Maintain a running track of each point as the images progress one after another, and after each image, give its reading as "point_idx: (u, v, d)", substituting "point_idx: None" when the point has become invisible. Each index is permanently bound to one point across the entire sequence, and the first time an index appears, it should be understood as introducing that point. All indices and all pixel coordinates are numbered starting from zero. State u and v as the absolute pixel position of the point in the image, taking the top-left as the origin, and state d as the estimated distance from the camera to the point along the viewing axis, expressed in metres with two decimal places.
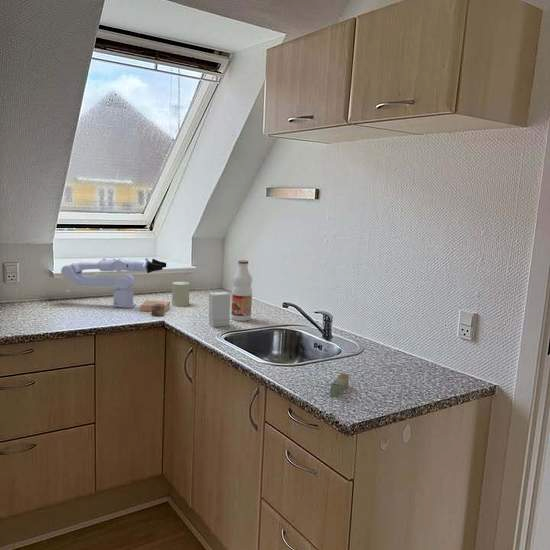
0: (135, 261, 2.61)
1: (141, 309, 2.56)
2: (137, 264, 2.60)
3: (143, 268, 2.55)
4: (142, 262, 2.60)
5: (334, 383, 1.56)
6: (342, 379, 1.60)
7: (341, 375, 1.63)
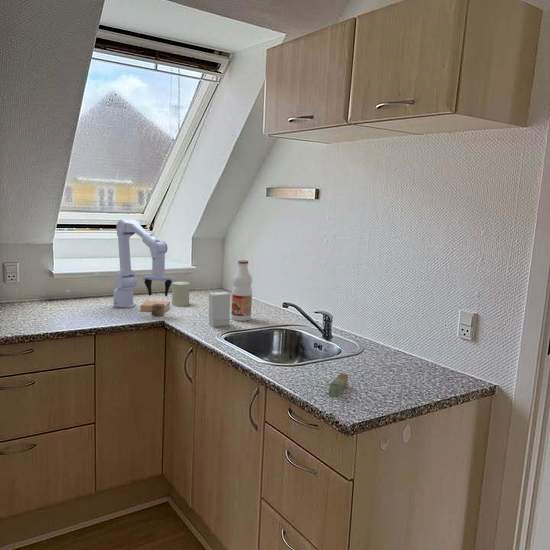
0: (158, 267, 2.44)
1: (141, 309, 2.56)
2: (152, 268, 2.46)
3: None
4: (153, 274, 2.45)
5: (333, 383, 1.56)
6: (341, 379, 1.60)
7: (340, 375, 1.63)
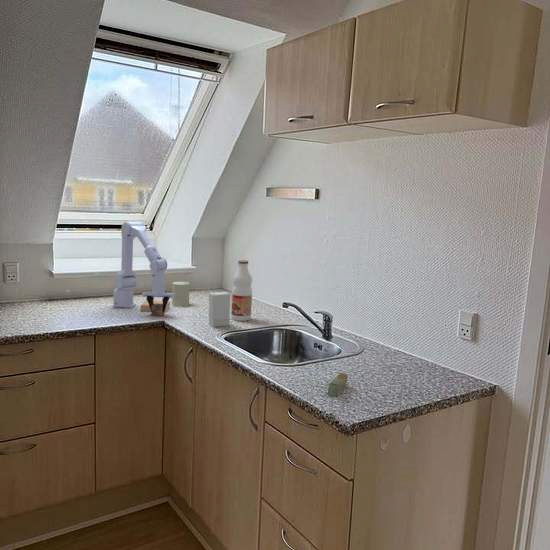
0: (158, 283, 2.45)
1: (141, 309, 2.56)
2: (152, 285, 2.47)
3: None
4: (152, 291, 2.46)
5: (332, 383, 1.56)
6: (340, 379, 1.60)
7: (340, 375, 1.64)
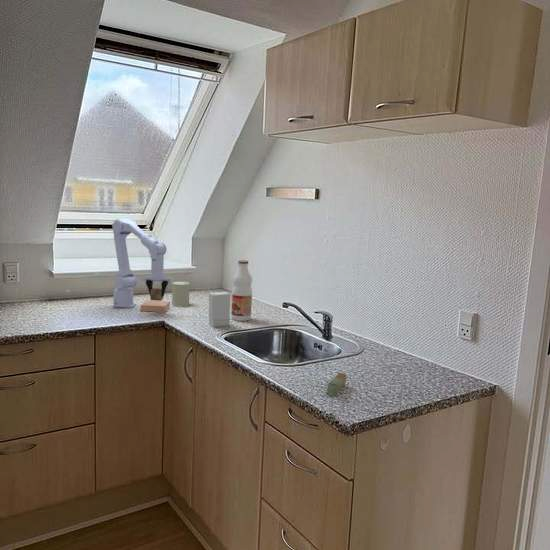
0: (158, 268, 2.48)
1: (141, 309, 2.56)
2: (151, 269, 2.50)
3: None
4: (152, 275, 2.50)
5: (331, 383, 1.56)
6: (339, 379, 1.60)
7: (338, 375, 1.64)
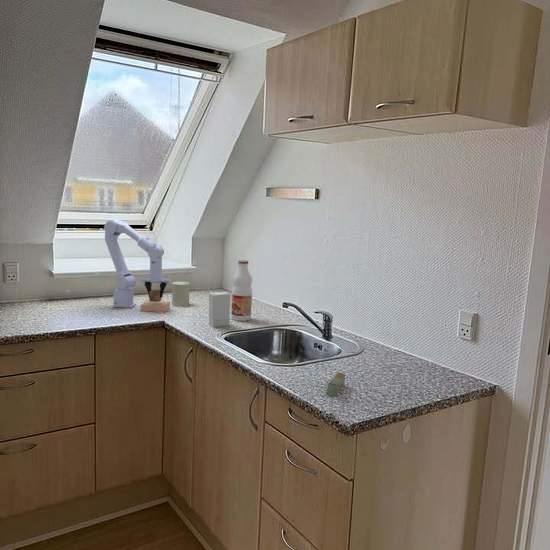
0: (158, 270, 2.57)
1: (141, 309, 2.56)
2: (150, 271, 2.58)
3: None
4: (150, 277, 2.57)
5: (331, 383, 1.56)
6: (339, 378, 1.60)
7: (337, 374, 1.64)
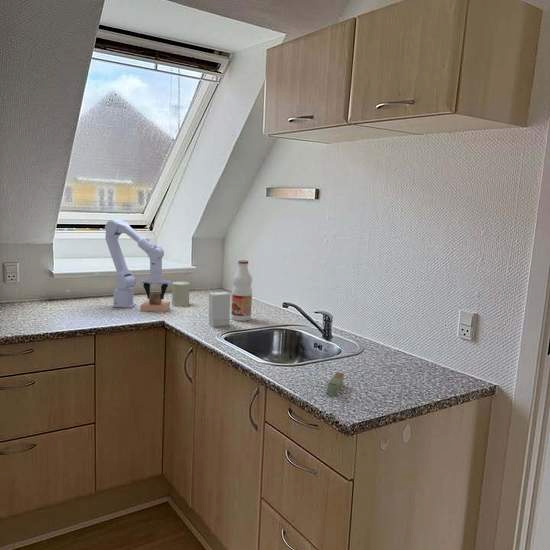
0: (158, 271, 2.57)
1: (141, 309, 2.56)
2: (150, 273, 2.58)
3: None
4: (150, 278, 2.57)
5: (331, 382, 1.56)
6: (338, 378, 1.60)
7: (336, 374, 1.64)
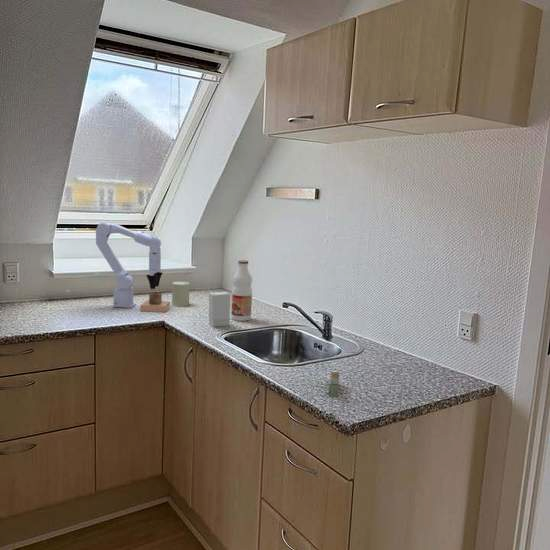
0: (159, 260, 2.63)
1: (141, 309, 2.56)
2: (155, 263, 2.62)
3: (150, 273, 2.58)
4: (157, 268, 2.63)
5: (332, 383, 1.56)
6: (337, 378, 1.60)
7: (333, 374, 1.64)
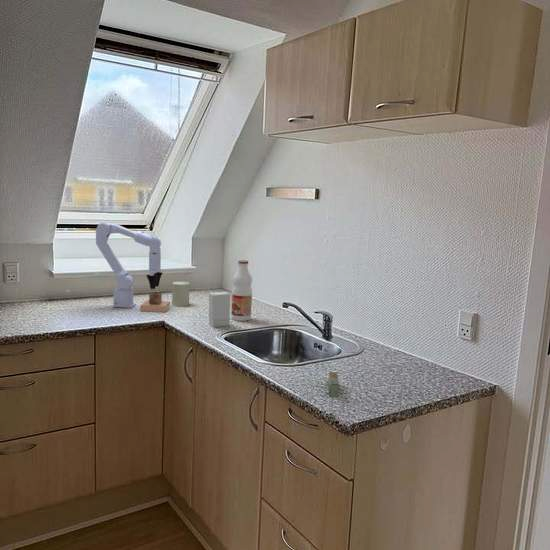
0: (159, 260, 2.63)
1: (141, 309, 2.56)
2: (155, 263, 2.62)
3: (150, 273, 2.58)
4: (157, 268, 2.63)
5: (333, 383, 1.56)
6: (336, 378, 1.60)
7: (331, 374, 1.64)
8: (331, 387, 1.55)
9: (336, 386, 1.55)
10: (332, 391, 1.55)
